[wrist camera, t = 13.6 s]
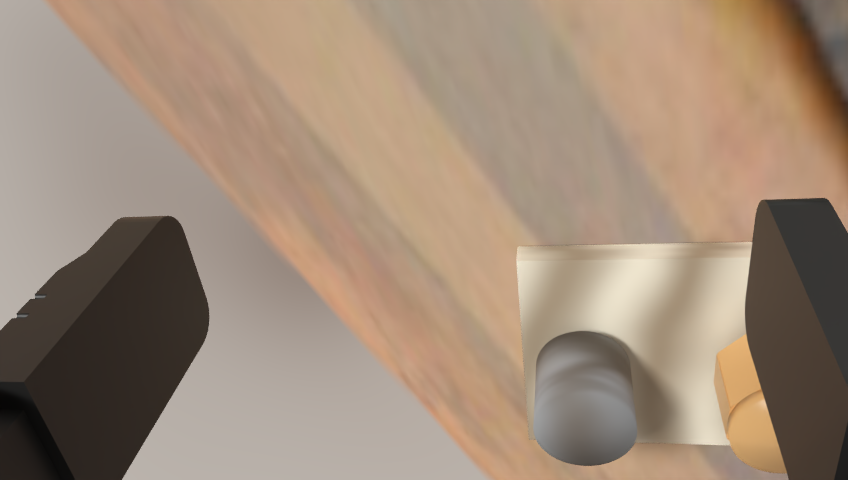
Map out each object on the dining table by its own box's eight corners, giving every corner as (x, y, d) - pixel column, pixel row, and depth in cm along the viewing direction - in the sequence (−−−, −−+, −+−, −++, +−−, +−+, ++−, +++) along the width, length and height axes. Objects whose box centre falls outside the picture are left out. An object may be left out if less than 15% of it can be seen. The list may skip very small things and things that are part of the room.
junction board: (841, 240, 41) (889, 327, 35) (804, 429, 48) (839, 528, 42) (517, 246, 44) (510, 327, 38) (529, 422, 51) (525, 513, 45)
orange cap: (826, 331, 41) (856, 397, 37) (811, 405, 44) (837, 475, 40) (717, 330, 42) (734, 395, 38) (710, 404, 45) (725, 471, 41)
